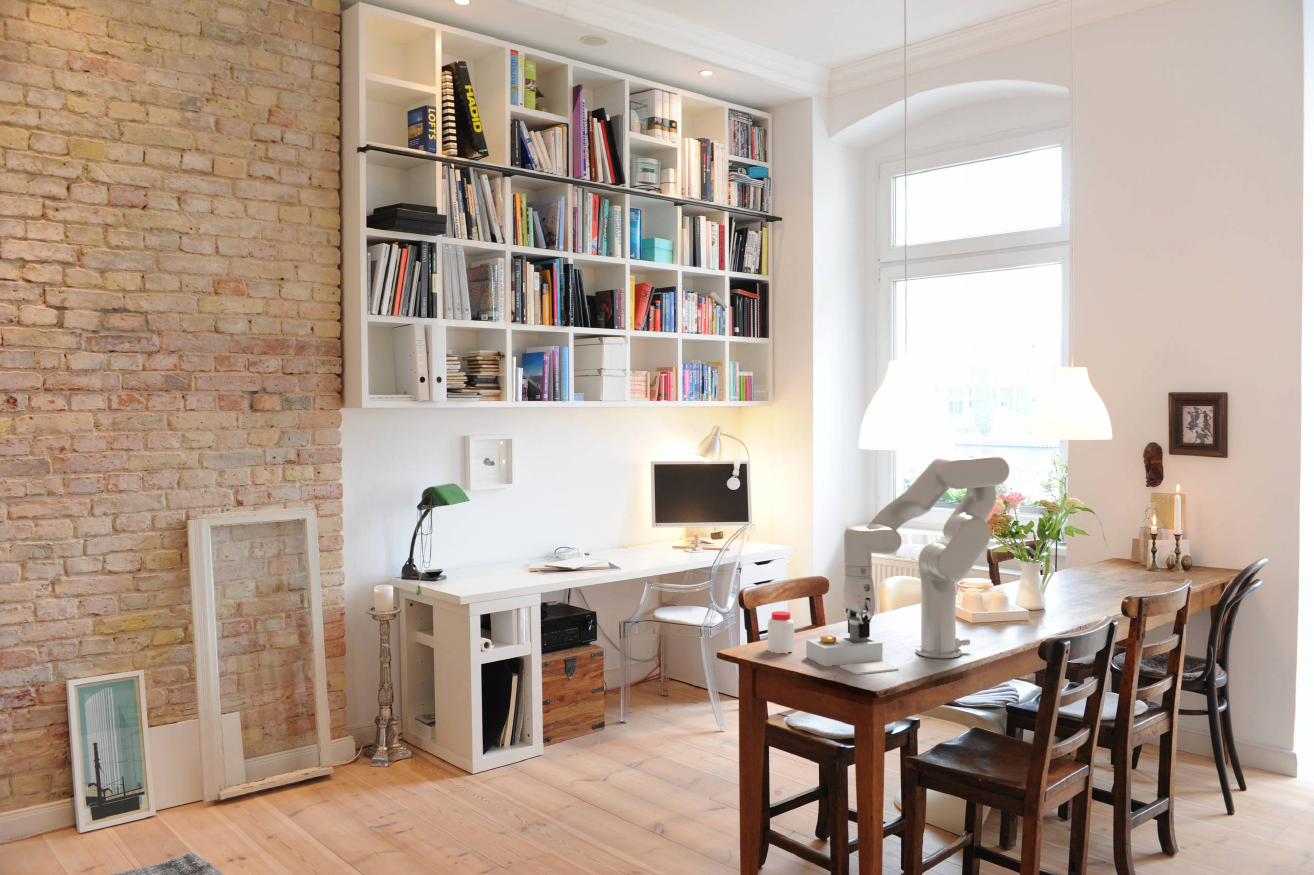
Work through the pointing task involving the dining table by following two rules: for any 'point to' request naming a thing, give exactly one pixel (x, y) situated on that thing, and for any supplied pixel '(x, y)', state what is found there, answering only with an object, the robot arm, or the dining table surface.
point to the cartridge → (855, 631)
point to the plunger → (828, 640)
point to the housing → (844, 651)
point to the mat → (869, 667)
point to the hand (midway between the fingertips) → (858, 634)
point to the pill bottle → (781, 633)
